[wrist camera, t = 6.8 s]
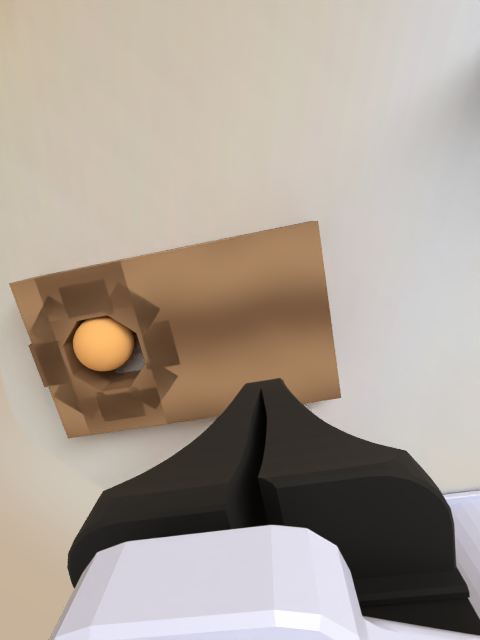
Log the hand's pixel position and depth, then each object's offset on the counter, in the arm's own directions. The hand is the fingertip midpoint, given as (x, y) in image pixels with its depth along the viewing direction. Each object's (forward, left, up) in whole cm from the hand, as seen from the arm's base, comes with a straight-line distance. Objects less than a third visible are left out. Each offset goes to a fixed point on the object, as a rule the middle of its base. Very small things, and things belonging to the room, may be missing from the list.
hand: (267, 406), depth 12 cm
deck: (+1, +5, -10) cm, 11 cm away
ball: (+1, +10, -8) cm, 13 cm away
